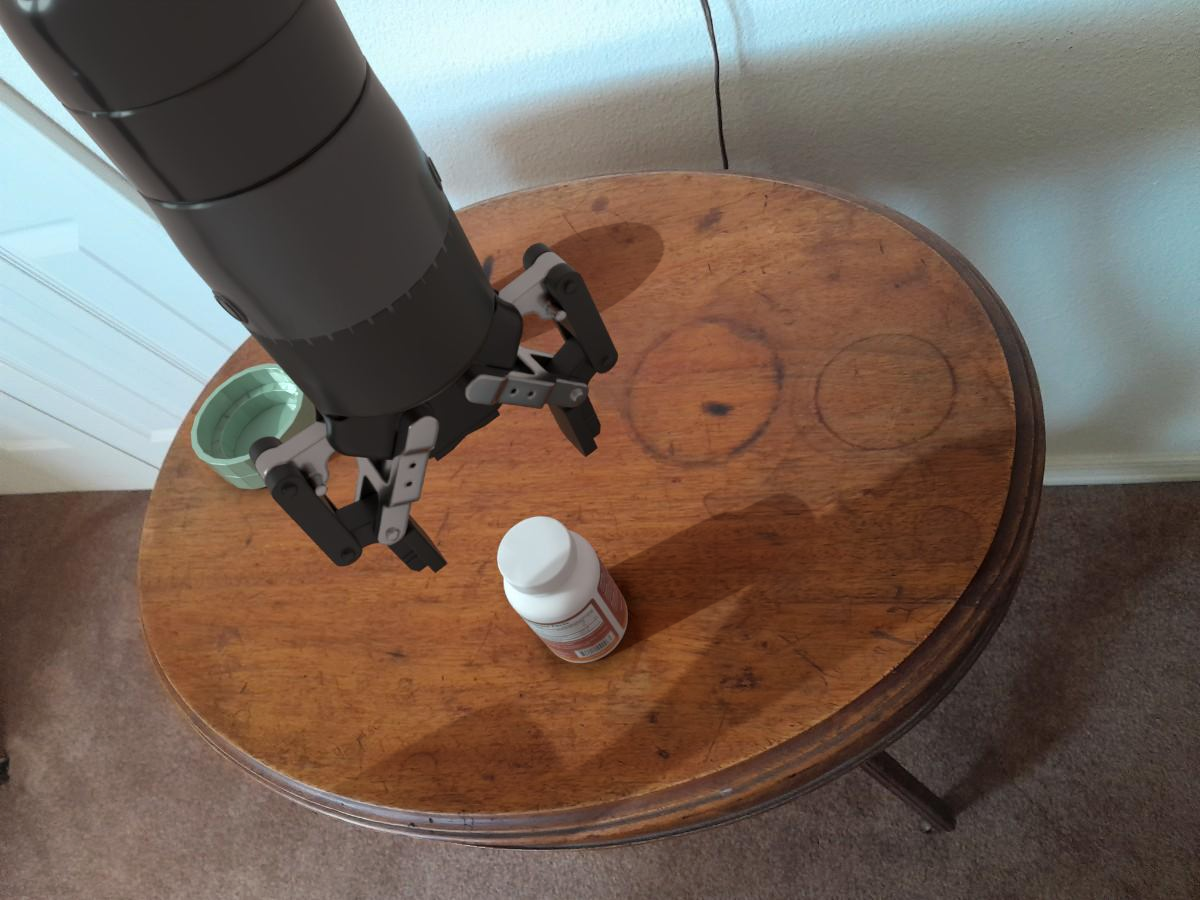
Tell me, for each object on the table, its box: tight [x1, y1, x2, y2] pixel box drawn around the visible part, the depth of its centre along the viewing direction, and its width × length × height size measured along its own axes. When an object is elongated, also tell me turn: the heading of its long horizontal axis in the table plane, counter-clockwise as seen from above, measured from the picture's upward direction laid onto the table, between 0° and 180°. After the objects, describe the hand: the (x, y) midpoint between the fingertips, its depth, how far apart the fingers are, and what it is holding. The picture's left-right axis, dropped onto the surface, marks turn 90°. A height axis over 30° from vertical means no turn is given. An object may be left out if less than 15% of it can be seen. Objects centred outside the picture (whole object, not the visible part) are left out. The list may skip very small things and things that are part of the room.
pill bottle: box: [496, 515, 629, 664], centre depth 55 cm, size 6×6×11 cm
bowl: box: [190, 363, 316, 490], centre depth 76 cm, size 11×11×4 cm
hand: (507, 498), depth 40 cm, fingers open, 8 cm apart
